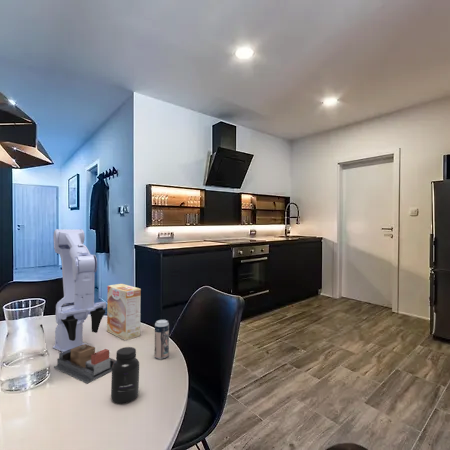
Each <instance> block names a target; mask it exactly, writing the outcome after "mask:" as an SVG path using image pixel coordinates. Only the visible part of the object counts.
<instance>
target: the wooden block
mask: <svg viewBox="0 0 450 450" xmlns="http://www.w3.org/2000/svg"><path fill="white" fill-rule="evenodd" d="M87 344H88V343H85V344H84V345H82V346H79V347H76V348H74V349H71V362H72V363H75V364H77V365H79V366H82V367H84V368H85V367H86V362H87V361H89V360H91V355H92V354H94V353H96V347H95V346H93V345H90V344H88V345H87Z"/></svg>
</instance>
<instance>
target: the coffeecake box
mask: <svg viewBox="0 0 450 450" xmlns="http://www.w3.org/2000/svg"><path fill="white" fill-rule="evenodd" d="M141 291H142V289H141V288H139V287H136V286H132V285H129V284H126V283H125V284H124V283H116V284H110V285H107V294H106V295H107V298H106V299H107V300H106V308H107V310H106V312H107V314H106V316H107V317H106V319H107V320H106V323H107V324H106V332H108V333H110V334H112V335H114V336H115V337H117V338H120V339H122V340H123V341H129V340H131V339H134V338H138V337H141V301H142V300H141V297H142V296H141V295H142V294H141Z"/></svg>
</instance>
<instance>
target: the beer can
mask: <svg viewBox="0 0 450 450" xmlns="http://www.w3.org/2000/svg"><path fill="white" fill-rule="evenodd" d="M169 345H170V323H169V320H166V319H158V320H156V321H155V323H154V355H153V356H154V357H155V358H156V359H159V360H163V359H166V358H167V357H169V354H170V350H169V349H170V346H169Z"/></svg>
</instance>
